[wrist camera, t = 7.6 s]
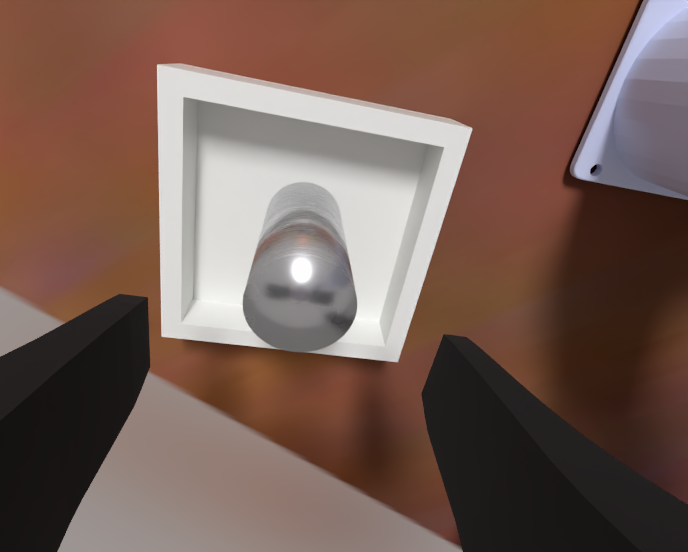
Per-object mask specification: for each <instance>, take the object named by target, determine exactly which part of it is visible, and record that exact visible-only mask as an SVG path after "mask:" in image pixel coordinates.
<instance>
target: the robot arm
mask: <svg viewBox="0 0 688 552" xmlns="http://www.w3.org/2000/svg"><path fill="white" fill-rule="evenodd" d="M594 165H597V168H596V170H595V171H594V172H593V173H592V174H590V170H591V168H592V167H593V166H594ZM570 173H571V175H572V176H573V177H576V178H578V179H580V180H586V181H591V182H596V183H601V184H606V185H612V186H617V187H622V188H627V189H633V190H638V191H643V192H648V193H654V194H659V195H664V196H669V197H674V198H680V199H685V200H688V0H643V2H642V5H641V7H640V9H639V11H638V14H637V16H636V18H635V20H634V23H633V25H632V27H631V29H630V32H629V34H628V36H627V39H626V41H625V43H624V45H623V48H622V50H621V52H620V54H619V57H618V59H617V61H616V63H615V66H614V68H613V70H612V72H611V75H610V77H609V79H608V81H607V84H606V86H605V88H604V90H603V93H602V95H601V97H600V99H599V102H598V104H597V106H596V109H595V111H594V113H593V115H592V118H591V120H590V122H589V124H588V127H587V129H586V131H585V133H584V136H583V138H582V140H581V142H580V145H579V147H578V149H577V151H576V154H575V156H574V158H573V160H572V163H571V165H570ZM149 368H150V349H149V321H148V297H140V296H132V295H124V294H119V295H117V296H115V297H112V298H111V299H109V300H107V301H105V302H103V303H101V304H99V305H97V306H96V307H94V308H92V309H90V310H88V311H87V312H85V313H83V314H81V315H79V316H78V317H76V318H74V319H72V320H70V321H69V322H67V323H65V324H63V325H61V326H59V327H58V328H56V329H54V330H52V331H50V332H48V333H46V334H45V335H43V336H41V337H39V338H37V339H35V340H33V341H31V342H29V343H27V344H26V345H23V346H21V347H19V348H17V349H15V350H13V351H11V352H9V353H7V354H5V355H3V356H1V357H0V552H57V551H58V549H59V547H60V544H61V542H62V540H63V537H64V535H65V533H66V531H67V528H68V526H69V524H70V522H71V520H72V518H73V516H74V514H75V512H76V510H77V508H78V506H79V504H80V502H81V500H82V498H83V497H84V495H85V493H86V491H87V490H88V488H89V486H90V484H91V482H92V481H93V479H94V477H95V475H96V473H97V472H98V470H99V468H100V466H101V464H102V463H103V461H104V459H105V458H106V455H107V454H108V452H109V451H110V449H111V447H112V445H113V443H114V442H115V440H116V438H117V436H118V434H119V433H120V431H121V429H122V427H123V425H124V423H125V422H126V420H127V418H128V416H129V415H130V413H131V411H132V409H133V407H134V405H135V403H136V401H137V398H138V396H139V393H140V391H141V389H142V386H143V383H144V380H145V378H146V376H147V373H148V371H149ZM422 400H423V407H424V414H425V419H426V425H427V430H428V434H429V437H430V441H431V444H432V447H433V451H434V454H435V457H436V460H437V464H438V467H439V470H440V473H441V476H442V480H443V483H444V486H445V489H446V492H447V496H448V499H449V502H450V505H451V508H452V512H453V515H454V518H455V521H456V525H457V529H458V533H459V536H460V540H461V545H462V549H463V552H688V505H687V504H686V503H684V502H682V501H681V500H679V499H677V498H676V497H674V496H673V495H671V494H669V493H668V492H666V491H665V490H663V489H661V488H660V487H658V486H657V485H655V484H653V483H652V482H650V481H649V480H647V479H645V478H644V477H642V476H641V475H639V474H638V473H636V472H635V471H633V470H632V469H630V468H629V467H627V466H626V465H624V464H623V463H621V462H620V461H618V460H617V459H616V458H614V457H613V456H611V455H610V454H609V453H607V452H606V451H604V450H603V449H601V448H600V447H599V446H597V445H596V444H594V443H593V442H592V441H590V440H589V439H588V438H586V437H585V436H584V435H582V434H581V433H580V432H578V431H577V430H576V429H574V428H573V427H572V426H571V425H569V424H568V423H567V422H566V421H564V420H563V419H562V418H561V417H559V416H558V415H557V414H556V413H554V412H553V411H552V410H551V409H549V408H548V407H547V406H546V405H545V404H543V403H542V402H541V401H540V400H539V399H537V398H536V397H535V396H534V395H533V394H532V393H530V392H529V391H528V390H527V389H526V388H525V387H524V386H522V385H521V384H520V383H519V382H518V381H517V380H516V379H514V378H513V377H512V376H511V375H510V374H509V373H508V372H507V371H505V370H504V369H503V368H502V367H501V366H500V365H499V364H498V363H497V362H495V361H494V360H493V359H492V358H491V357H490V356H489V355H487V354H486V353H485V352H484V351H483V350H482V349H481V348H479V347H478V346H477V345H476V344H475V343H473V342H472V341H471V340H469V339H468V338H467V337H461V336H453V335H445V334H444V335H443V338H442V340H441V343H440V346H439V348H438V351H437V354H436V356H435V359H434V362H433V364H432V367H431V370H430V372H429V375H428V378H427V381H426V383H425V386H424V389H423V391H422Z"/></svg>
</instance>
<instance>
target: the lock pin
mask: <svg viewBox="0 0 688 552" xmlns="http://www.w3.org/2000/svg"><path fill="white" fill-rule="evenodd" d="M243 312H244V316H245V319H246V321H247V323H248V325H249V327H250V328H251V330H252V331H253V332H254V333H255V334H256V335H257V336H258V337H259V338H260V339H261V340H263V341H264V342H266V343H267V344H269V345H271V346H273V347H275V348H278V349H281V350H285V351H291V352H310V351H315V350H319V349H322V348H325V347H327V346H329V345H331V344H333V343H335V342H336V341H338V340H339V339H340V338H341V337H342V336H343V335H345V333H346V332H347V331H348V330H349V328H350V327H351V325H352V324H353V321H354V319H355V316H356V313H357V296H356V291H355V286H354V281H353V275H352V270H351V265H350V260H349V255H348V249H347V244H346V239H345V234H344V229H343V223H342V218H341V213H340V208H339V205H338V203H337V201H336V200H335V198H334V197H333V196H332V194H331V193H330V192H328V191H327V190H326V189H324V188H323V187H321V186H319V185H316V184H314V183H309V182H297V183H292V184H289V185H287V186H285V187H283V188H282V189H280V190H279V191H278V192H277V193H276V194H275V195H274V196H273V197H272V199H271V200H270V202H269V205H268V208H267V211H266V215H265V219H264V222H263V226H262V230H261V233H260V237H259V240H258V244H257V248H256V251H255V255H254V259H253V262H252V266H251V270H250V273H249V277H248V280H247V284H246V288H245V291H244V295H243Z"/></svg>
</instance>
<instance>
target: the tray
mask: <svg viewBox="0 0 688 552" xmlns="http://www.w3.org/2000/svg"><path fill="white" fill-rule="evenodd" d="M157 95H158V154H159V213H160V272H161V331H162V337H170V338H179V339H189V340H198V341H207V342H216V343H225V344H235V345H244V346H253V347H262V348H271V349H278V348H275V347H273V346H271V345H269V344H267V343H266V342H264V341H263V340H261V339H260V338H259V337H258V336H257V335H256V334H255V333H254V332H253V331H252V330H251V328H250V327H249V325H248V323H247V321H246V319H245V316H244V312H243V295H244V291H245V288H246V284H247V280H248V277H249V273H250V270H251V266H252V262H253V259H254V255H255V251H256V248H257V244H258V240H259V237H260V233H261V230H262V226H263V222H264V219H265V215H266V211H267V208H268V205H269V202H270V200H271V199H272V197H273V196H274V195H275V194H276V193H277V192H278V191H279V190H280V189H282V188H283V187H285V186H287V185H289V184H292V183H297V182H309V183H314V184H316V185H319V186H321V187H323V188H324V189H326V190H327V191H328V192H330V193H331V194H332V196H333V197H334V198H335V200H336V201H337V203H338V205H339V208H340V213H341V218H342V223H343V229H344V234H345V239H346V244H347V249H348V255H349V260H350V265H351V270H352V275H353V281H354V286H355V291H356V296H357V313H356V316H355V319H354V321H353V324H352V325H351V327H350V328H349V330H348V331H347V332H346V333H345V335H343V336H342V337H341V338H340V339H339V340H338V341H336V342H335V343H333V344H331V345H329V346H327V347H325V348H322V349H319V350H315V351H310V352H308V353H317V354H326V355H336V356H345V357H354V358H363V359H372V360H382V361H391V362H398V360H399V357H400V354H401V350H402V347H403V344H404V341H405V338H406V335H407V332H408V329H409V326H410V322H411V319H412V316H413V313H414V310H415V307H416V304H417V301H418V297H419V294H420V291H421V288H422V285H423V282H424V279H425V276H426V272H427V269H428V266H429V263H430V260H431V257H432V254H433V251H434V248H435V244H436V241H437V238H438V235H439V232H440V229H441V226H442V223H443V219H444V216H445V213H446V210H447V207H448V204H449V201H450V198H451V194H452V191H453V188H454V185H455V182H456V179H457V176H458V173H459V169H460V166H461V163H462V160H463V157H464V154H465V151H466V148H467V145H468V141H469V138H470V135H471V132H472V129H473V128H471V127H468V126H466V125H464V124H461V123H459V122H457V121H455V120H452V119H449V118H445V117H440V116H435V115H430V114H425V113H420V112H415V111H410V110H406V109H401V108H396V107H391V106H386V105H381V104H376V103H371V102H366V101H362V100H357V99H352V98H347V97H342V96H337V95H332V94H327V93H323V92H318V91H313V90H308V89H303V88H298V87H293V86H288V85H284V84H279V83H274V82H269V81H264V80H259V79H254V78H249V77H244V76H240V75H235V74H230V73H225V72H220V71H215V70H210V69H205V68H201V67H196V66H191V65H186V64H181V63H179V64H157Z"/></svg>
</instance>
